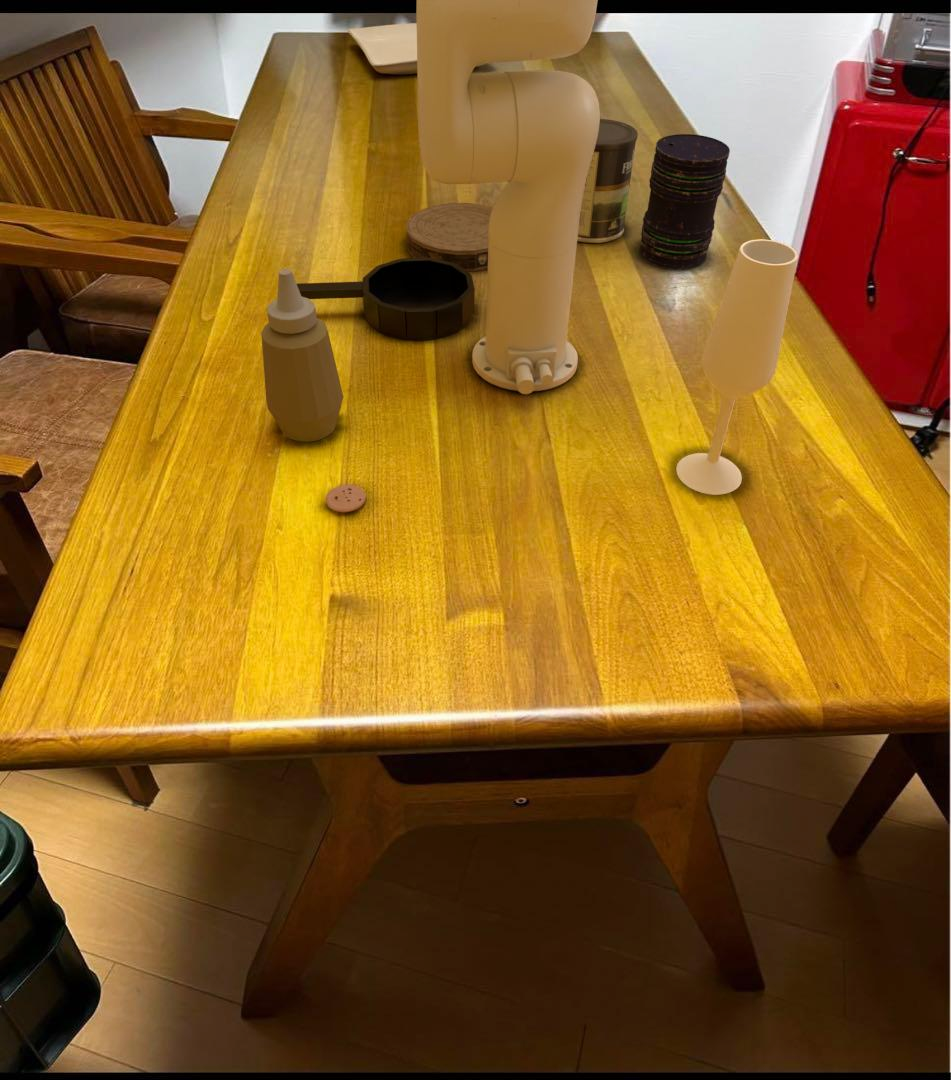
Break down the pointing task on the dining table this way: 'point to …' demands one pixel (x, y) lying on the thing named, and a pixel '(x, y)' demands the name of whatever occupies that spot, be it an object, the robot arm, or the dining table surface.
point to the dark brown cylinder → (683, 200)
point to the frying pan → (408, 297)
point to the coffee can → (607, 183)
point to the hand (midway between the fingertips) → (457, 89)
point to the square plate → (390, 47)
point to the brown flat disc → (451, 234)
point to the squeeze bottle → (299, 366)
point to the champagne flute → (742, 350)
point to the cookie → (345, 498)
